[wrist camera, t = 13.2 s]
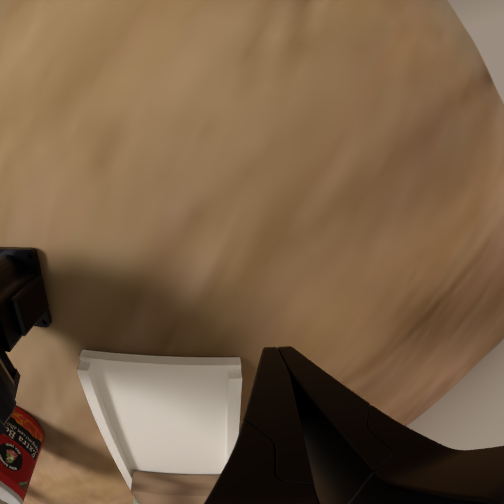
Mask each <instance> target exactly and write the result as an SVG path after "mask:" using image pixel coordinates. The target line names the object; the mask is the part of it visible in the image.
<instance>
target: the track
mask: <svg viewBox="0 0 504 504" xmlns="http://www.w3.org/2000/svg"><path fill="white" fill-rule="evenodd" d="M79 359H80V363H79V365H78V367H77V372H78V375H79V378H80V381H81V384H82V387H83V389H84V392H85V395H86V397H87V400H88V403H89V405H90V408H91V410H92V413H93V415H94V417H95V420H96V422H97V424H98V427H99V429H100V431H101V434H102V436H103V438H104V440H105V442H106V444H107V446H108V449H109V451H110V453H111V455H112V457H113V459H114V461H115V463H116V464H117V466H118V468H119V470H120V472H121V474H122V476H123V477H124V479H125V481H126V483H127V485H128V486H129V488H130V490H131V484H132V476H133V471H141V472H151V473H163V474H179V475H220V474H221V472H222V471H223V469H224V467H225V465H226V463H227V461H228V459H229V457H230V455H231V453H232V451H233V448H234V446H235V443H236V441H237V438H238V435H239V422H240V406H241V390H242V374H241V361H240V357H172V356H150V355H135V354H121V353H110V352H100V351H90V350H82V352H81V354H80V356H79ZM133 504H138V502H137V501H136V499H135V497H134V501H133Z"/></svg>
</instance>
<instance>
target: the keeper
mask: <svg viewBox="0 0 504 504" xmlns="http://www.w3.org/2000/svg"><path fill="white" fill-rule="evenodd" d="M219 476H220V475H179V474H163V473H151V472H141V471H133V476H132V484H131V492H132V494H133V496H134V497H135V499H136V501H137V502H138V504H204V502H205V501H206V499H207V497H208V496H209V494H210V492H211V490H212V489H213V487H214V485H215V483H216V481H217V480H218V478H219Z"/></svg>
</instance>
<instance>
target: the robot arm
mask: <svg viewBox="0 0 504 504" xmlns="http://www.w3.org/2000/svg"><path fill="white" fill-rule="evenodd" d="M30 253H31V254H32V255H33V257H31V255H30ZM48 307H49V306H48V302H47V297H46V293H45V288H44V283H43V278H42V276H41V271H40V265H39V259H38V253H37V251H36V250H35V249H34V248H16V247H0V435H2V434H3V433H5V432H6V431H7V428H6V425H7V424H8V423H9V421H10V419H11V416H12V413H13V411H14V409H15V407H16V401H15V397H16V393H17V388H18V384H19V380H20V374H19V372H18V371H17V369H15V368H14V366H13V365H12V363H11V361H10V359H9V358H8V356H7V354H6V352H5V351H7V352H10V351H11V350H12V349H13V347H14V346H15V345H16V343H17V342H18V341H19V340H20V338H21V337H22V336H26V335H27V333H28V332H29V331H30V330H31V328H32V327H33V326H39V327H49V326H50V324H51V317H50V313H49V309H48ZM45 320H46V321H47V322H46V321H45ZM204 504H504V446H499V447H493V448H485V449H476V450H465V451H464V450H455V449H451V448H448V447H445V446H443V445H441V444H439V443H437V442H435V441H433V440H431V439H429V438H427V437H425V436H423V435H421V434H419V433H417V432H415V431H413V430H411V429H409V428H408V427H406V426H404V425H402V424H401V423H399V422H397V421H395V420H394V419H392V418H390V417H389V416H387V415H386V414H384V413H383V412H381V411H380V410H378V409H377V408H375V407H374V406H372V405H371V406H370V404H369V403H368V402H367V401H365V400H364V399H362V398H361V397H360V396H358V395H357V394H355V393H354V392H352V391H351V390H350V389H348V388H347V387H345V386H344V385H343V384H341V383H340V382H339V381H337V380H336V379H334V378H333V377H332V376H330V375H329V374H328V373H326V372H325V371H324V370H322V369H321V368H319V367H318V366H317V365H315V364H314V363H313V362H311V361H310V360H309V359H307V358H306V357H305V356H303V355H302V354H301V353H299V352H298V351H297V350H295V349H294V348H293V347H291V346H287V347H278V348H276V347H265V348H263V350H262V354H261V358H260V362H259V365H258V369H257V373H256V376H255V380H254V383H253V387H252V391H251V394H250V398H249V401H248V405H247V408H246V412H245V415H244V419H243V422H242V425H241V429H240V432H239V435H238V438H237V441H236V443H235V446H234V448H233V451H232V453H231V455H230V457H229V459H228V461H227V463H226V465H225V467H224V469H223V471H222V472H221V474H220V476H219V478H218V480H217V481H216V483H215V485H214V487H213V489H212V490H211V492H210V494H209V496H208V497H207V499H206V501H205V502H204Z"/></svg>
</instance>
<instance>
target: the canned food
mask: <svg viewBox="0 0 504 504" xmlns="http://www.w3.org/2000/svg"><path fill="white" fill-rule="evenodd" d="M6 428H7V431H6V432H5V433H3V434H2V435H0V499H1V500H3V501H5V502H7V503H9V504H22V503H23V501H24V498H25V495H26V492H27V489H28V486H29V483H30V479H31V476H32V473H33V470H34V468H35V465H36V462H37V459H38V456H39V453H40V451H41V448H42V445H43V442H44V433H43V431H42V429H41V427H40V426H39V424H38V423H37V422H36V421H35V420H34V419H33V418H32V417H31V416H30V415H29V414H28V413H26V412H25V411H23V410H22V409H20V408H19V407H17V406H16V407H15V409H14V411H13V413H12V416H11V419H10V421H9V423H8V424H7V425H6Z"/></svg>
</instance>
